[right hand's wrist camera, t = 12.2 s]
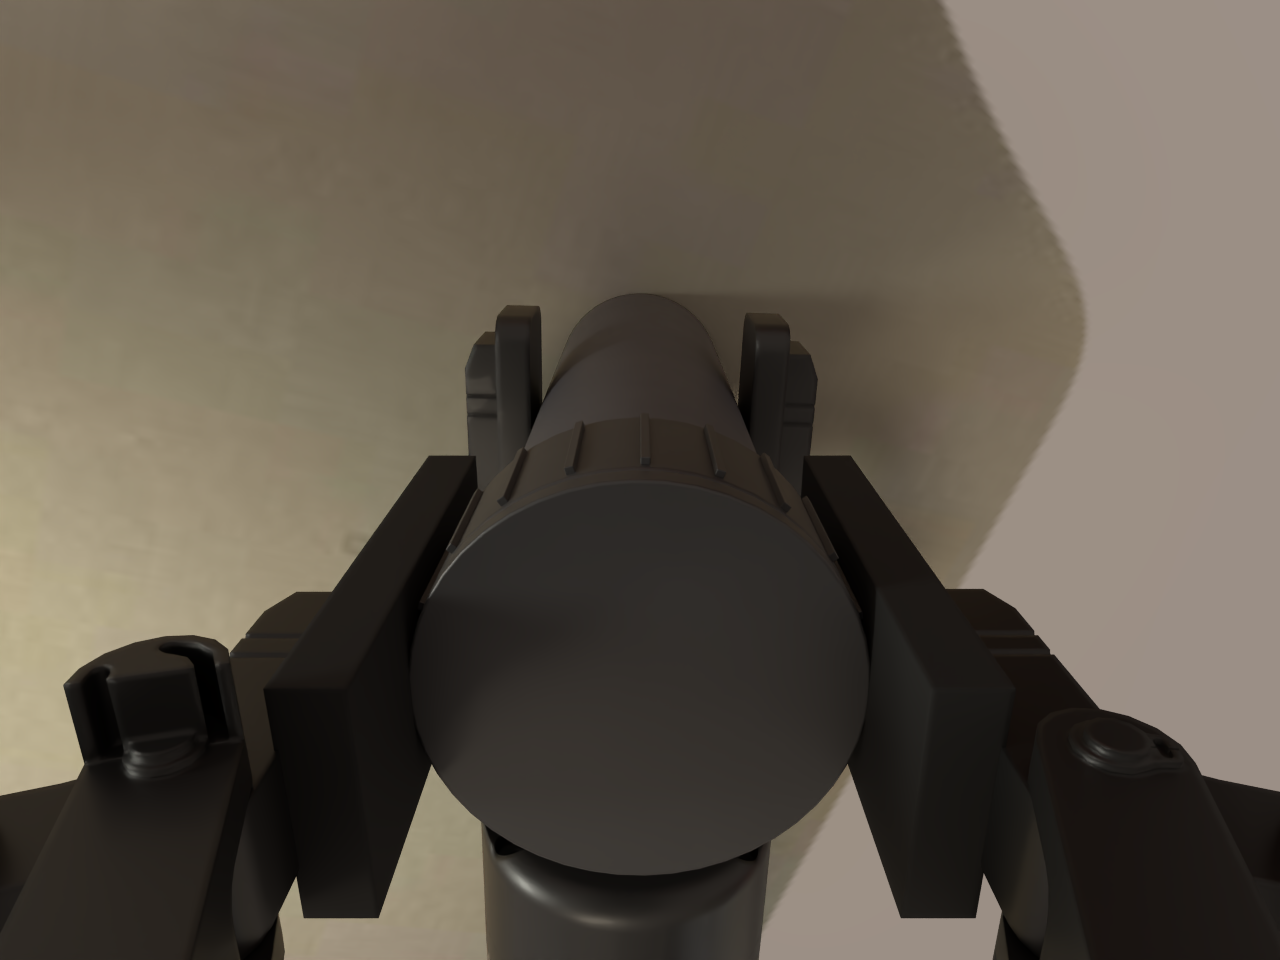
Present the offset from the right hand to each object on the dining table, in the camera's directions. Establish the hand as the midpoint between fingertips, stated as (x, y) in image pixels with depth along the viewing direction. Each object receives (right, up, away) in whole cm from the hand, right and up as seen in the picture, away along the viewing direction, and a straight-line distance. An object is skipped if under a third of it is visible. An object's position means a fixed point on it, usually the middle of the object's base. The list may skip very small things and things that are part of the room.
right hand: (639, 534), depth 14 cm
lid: (0, -2, -4) cm, 4 cm away
